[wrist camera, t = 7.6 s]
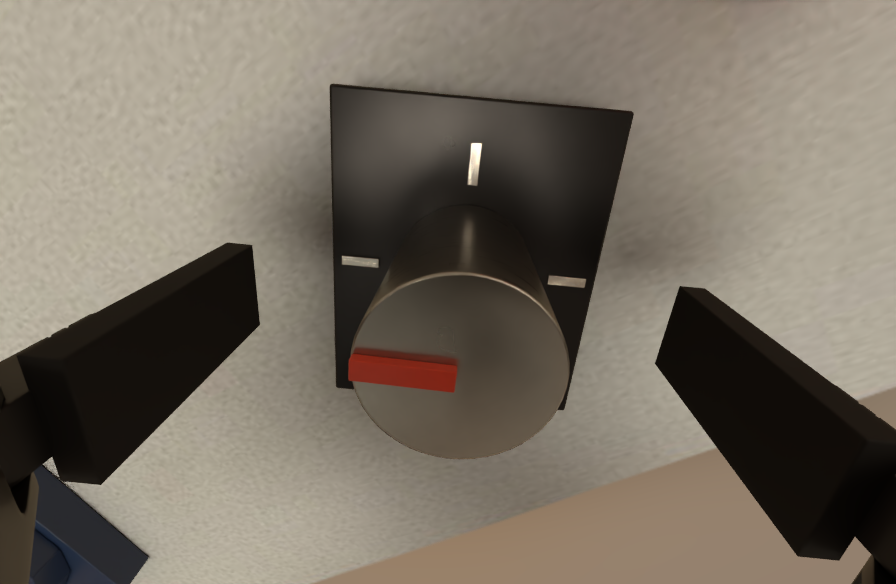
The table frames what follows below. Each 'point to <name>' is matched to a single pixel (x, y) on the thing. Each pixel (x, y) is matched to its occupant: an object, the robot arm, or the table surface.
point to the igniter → (77, 541)
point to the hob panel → (469, 189)
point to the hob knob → (460, 340)
